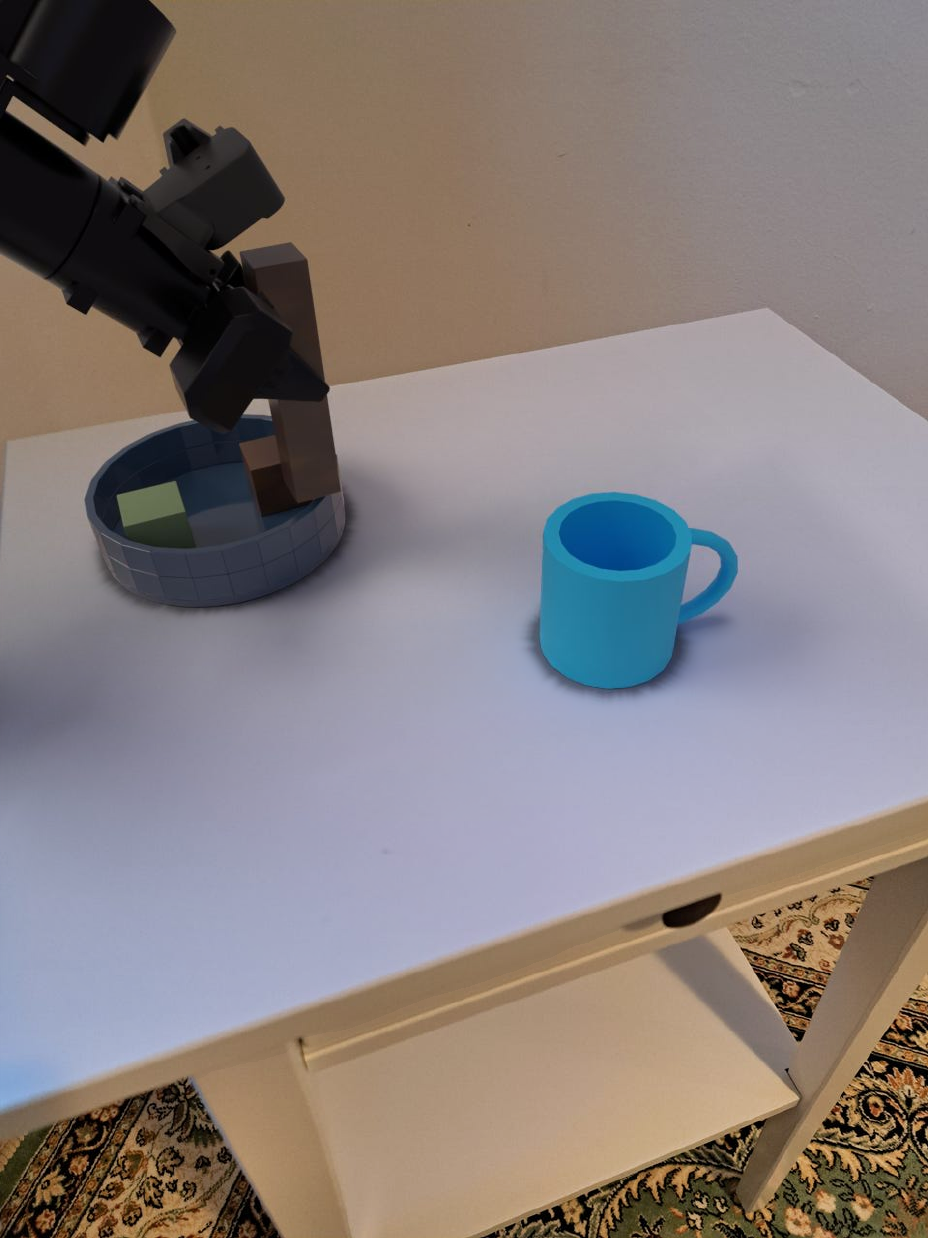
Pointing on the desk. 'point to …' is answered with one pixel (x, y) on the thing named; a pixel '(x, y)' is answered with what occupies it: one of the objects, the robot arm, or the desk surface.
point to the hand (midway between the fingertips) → (316, 382)
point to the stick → (302, 422)
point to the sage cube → (156, 517)
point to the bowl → (208, 520)
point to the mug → (620, 587)
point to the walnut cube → (267, 476)
